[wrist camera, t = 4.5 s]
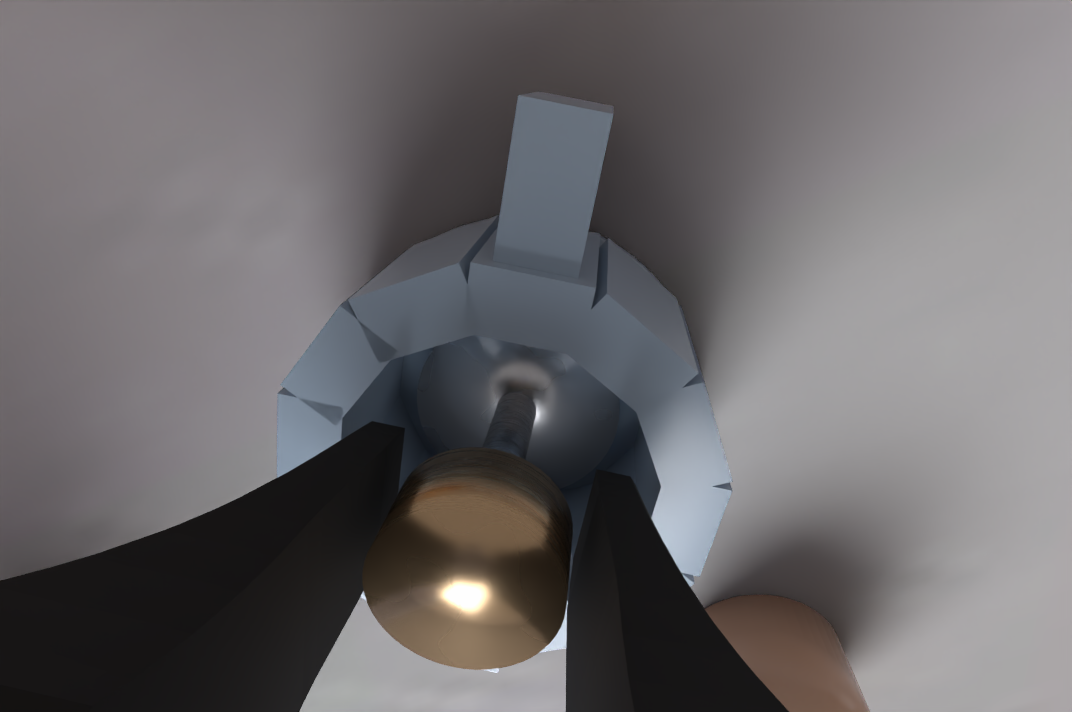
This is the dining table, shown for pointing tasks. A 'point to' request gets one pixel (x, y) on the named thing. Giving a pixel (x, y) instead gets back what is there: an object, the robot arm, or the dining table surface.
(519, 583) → the plunger
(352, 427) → the press pot
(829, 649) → the tan rounded cylinder
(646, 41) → the dining table surface
